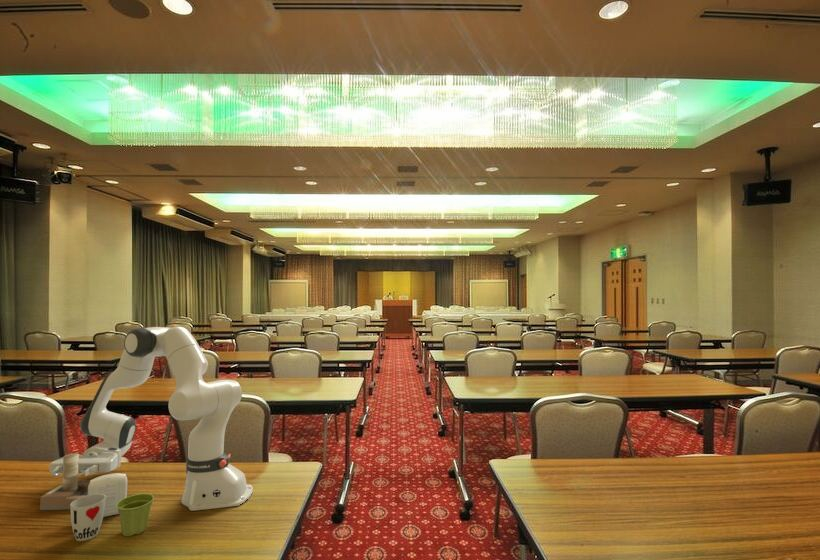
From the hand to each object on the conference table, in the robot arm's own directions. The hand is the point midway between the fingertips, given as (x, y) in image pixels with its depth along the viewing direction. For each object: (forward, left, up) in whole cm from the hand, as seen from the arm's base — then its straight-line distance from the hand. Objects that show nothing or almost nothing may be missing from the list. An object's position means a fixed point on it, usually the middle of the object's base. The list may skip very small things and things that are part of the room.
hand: (68, 473), depth 141 cm
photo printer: (-18, +9, -9) cm, 22 cm away
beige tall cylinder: (0, -1, -8) cm, 8 cm away
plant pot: (-32, +19, -9) cm, 39 cm away
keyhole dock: (-3, -1, -9) cm, 10 cm away
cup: (-20, +21, -9) cm, 31 cm away
